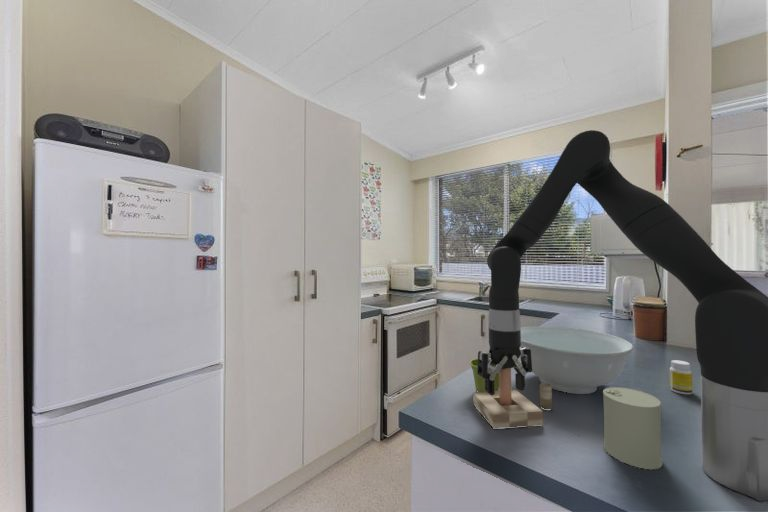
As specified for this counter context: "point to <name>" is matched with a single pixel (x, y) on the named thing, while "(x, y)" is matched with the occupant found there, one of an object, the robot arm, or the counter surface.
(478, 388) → the plant pot
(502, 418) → the socket block
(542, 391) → the short dowel
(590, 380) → the bowl
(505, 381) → the long dowel
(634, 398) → the can
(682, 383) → the supplement bottle
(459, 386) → the counter surface
